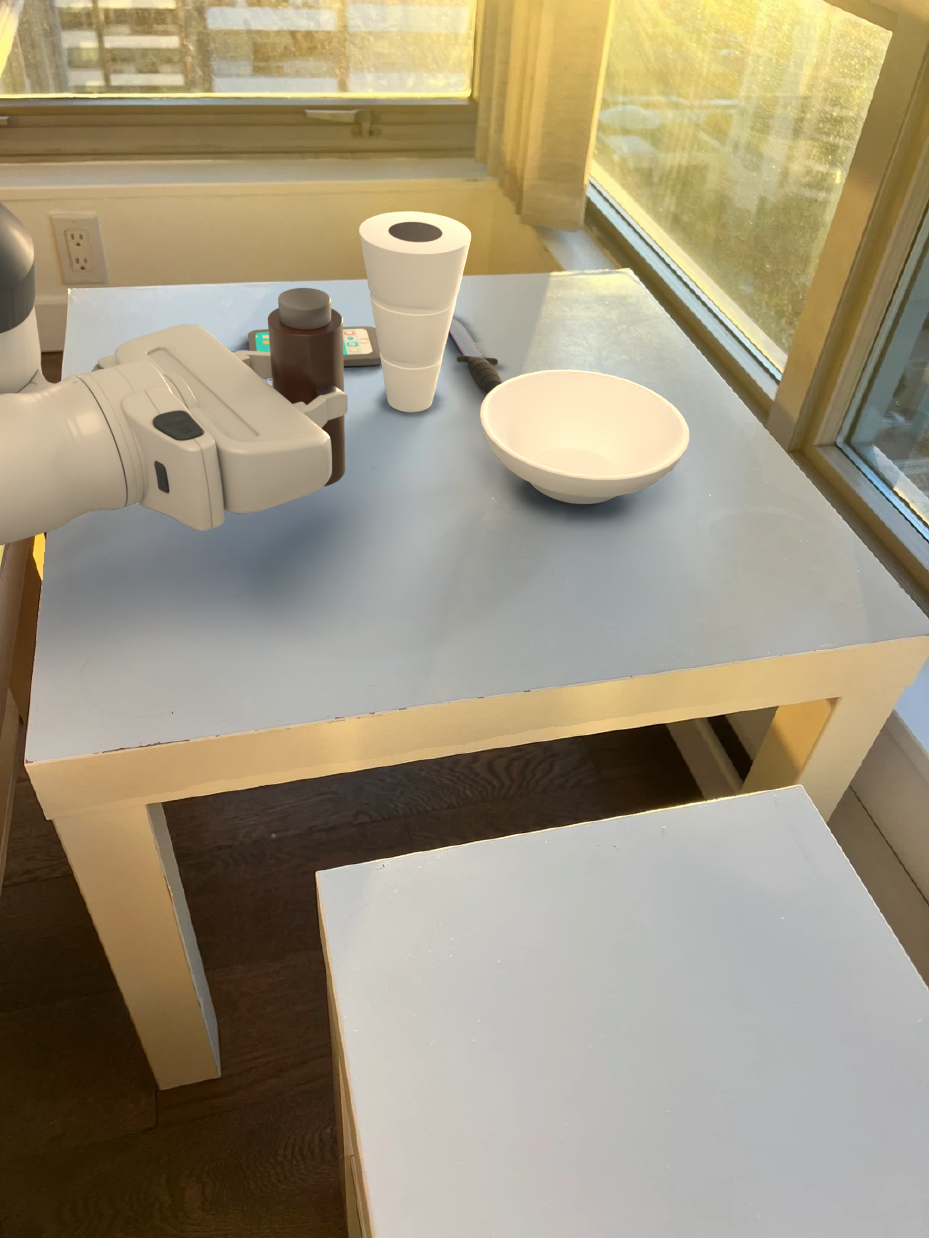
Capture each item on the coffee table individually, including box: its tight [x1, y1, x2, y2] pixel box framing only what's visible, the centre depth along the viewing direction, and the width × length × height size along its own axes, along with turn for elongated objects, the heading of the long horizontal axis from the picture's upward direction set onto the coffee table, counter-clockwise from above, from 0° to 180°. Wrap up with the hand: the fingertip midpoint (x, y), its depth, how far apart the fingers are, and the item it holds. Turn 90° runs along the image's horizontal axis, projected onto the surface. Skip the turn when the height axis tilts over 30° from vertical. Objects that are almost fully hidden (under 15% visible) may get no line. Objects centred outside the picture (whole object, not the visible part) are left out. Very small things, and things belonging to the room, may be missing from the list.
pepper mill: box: [267, 287, 346, 488], centre depth 71 cm, size 5×5×14 cm
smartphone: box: [247, 325, 382, 367], centre depth 110 cm, size 9×1×15 cm
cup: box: [358, 211, 472, 413], centre depth 97 cm, size 11×11×18 cm
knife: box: [448, 317, 503, 395], centre depth 111 cm, size 24×2×5 cm
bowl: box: [479, 369, 690, 505], centre depth 91 cm, size 20×20×7 cm
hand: (318, 380), depth 71 cm, fingers closed on pepper mill, 5 cm apart
